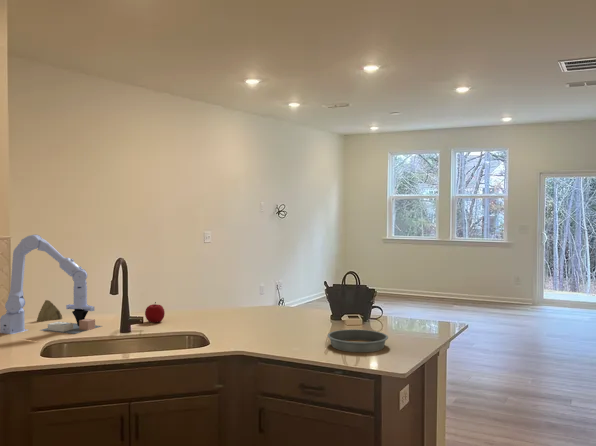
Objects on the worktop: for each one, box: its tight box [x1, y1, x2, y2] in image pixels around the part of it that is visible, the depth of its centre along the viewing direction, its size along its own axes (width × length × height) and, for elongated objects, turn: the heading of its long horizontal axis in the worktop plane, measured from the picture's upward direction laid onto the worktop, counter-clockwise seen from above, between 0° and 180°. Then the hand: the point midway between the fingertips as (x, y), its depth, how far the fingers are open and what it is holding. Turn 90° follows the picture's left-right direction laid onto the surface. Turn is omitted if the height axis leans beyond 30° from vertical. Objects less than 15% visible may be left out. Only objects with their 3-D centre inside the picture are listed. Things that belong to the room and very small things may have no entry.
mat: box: [40, 322, 103, 335], centre depth 255 cm, size 18×20×1 cm
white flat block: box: [47, 321, 73, 332], centre depth 252 cm, size 6×9×3 cm, turn 69°
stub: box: [79, 318, 96, 331], centre depth 254 cm, size 4×5×4 cm
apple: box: [144, 301, 165, 324], centre depth 273 cm, size 9×9×10 cm
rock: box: [36, 299, 63, 322], centre depth 274 cm, size 11×9×10 cm
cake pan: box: [327, 328, 389, 353], centre depth 228 cm, size 25×25×4 cm
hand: (80, 325), depth 255 cm, fingers closed
